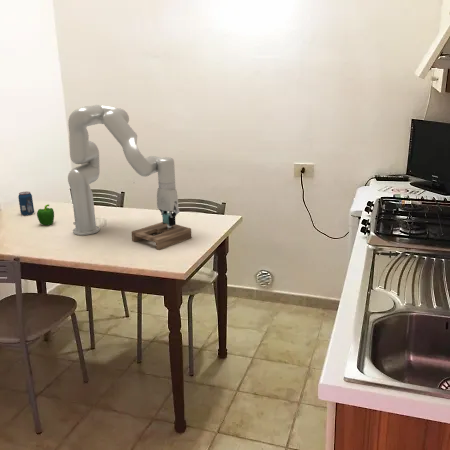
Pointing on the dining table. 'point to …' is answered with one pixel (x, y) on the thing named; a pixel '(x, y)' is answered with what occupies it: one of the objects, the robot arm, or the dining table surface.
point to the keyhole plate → (162, 234)
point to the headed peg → (167, 220)
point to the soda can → (26, 203)
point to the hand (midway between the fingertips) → (169, 223)
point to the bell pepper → (45, 216)
